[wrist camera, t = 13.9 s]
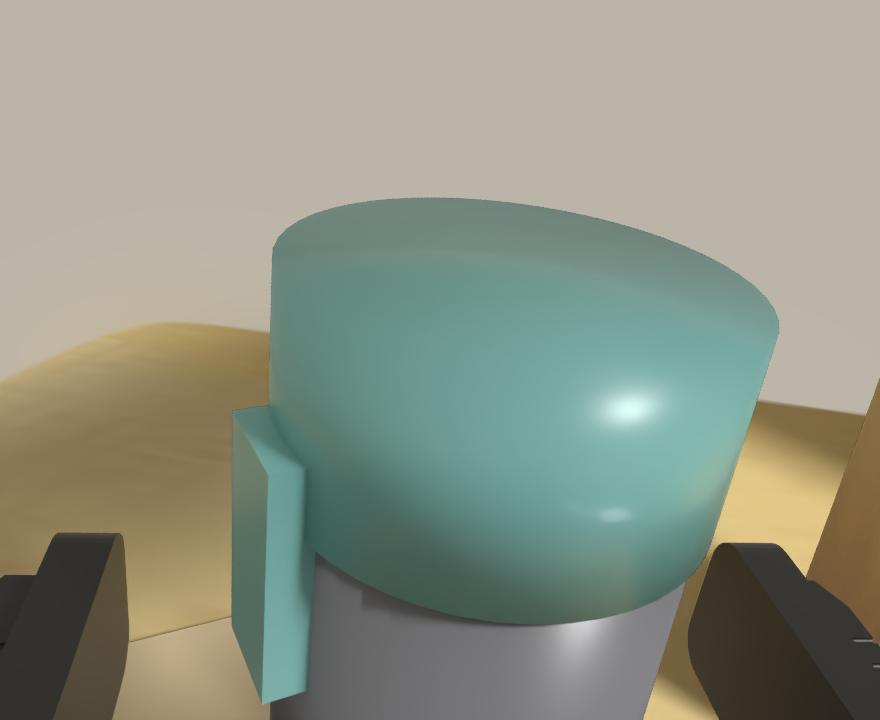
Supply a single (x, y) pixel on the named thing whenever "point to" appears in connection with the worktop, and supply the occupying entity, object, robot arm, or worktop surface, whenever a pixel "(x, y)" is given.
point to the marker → (483, 460)
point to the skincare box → (855, 530)
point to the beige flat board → (189, 677)
